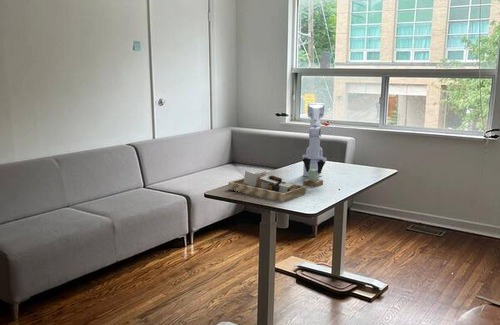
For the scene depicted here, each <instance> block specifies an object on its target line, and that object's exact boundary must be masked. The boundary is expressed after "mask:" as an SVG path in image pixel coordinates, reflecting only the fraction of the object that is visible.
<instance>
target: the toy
mask: <svg viewBox="0 0 500 325" xmlns="http://www.w3.org/2000/svg"><path fill="white" fill-rule="evenodd" d="M266 173H267V171H266V170H265V171H263V172H262V171H261V172H255V173H253V172H250V171H247V170H245V171H244V182H243V183H246V184H249V185H248V186H252V187H256V188H261V189H266V190H271V191H275V192H280V193H286V192H289V191H292V190H295V189H298V188H295V187H293V185H292V184H293V183H291V184H288V183H289V182H286V181H284V179H283V178H281V177H278V176H275V175H270V174H267V175H266Z"/></svg>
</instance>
